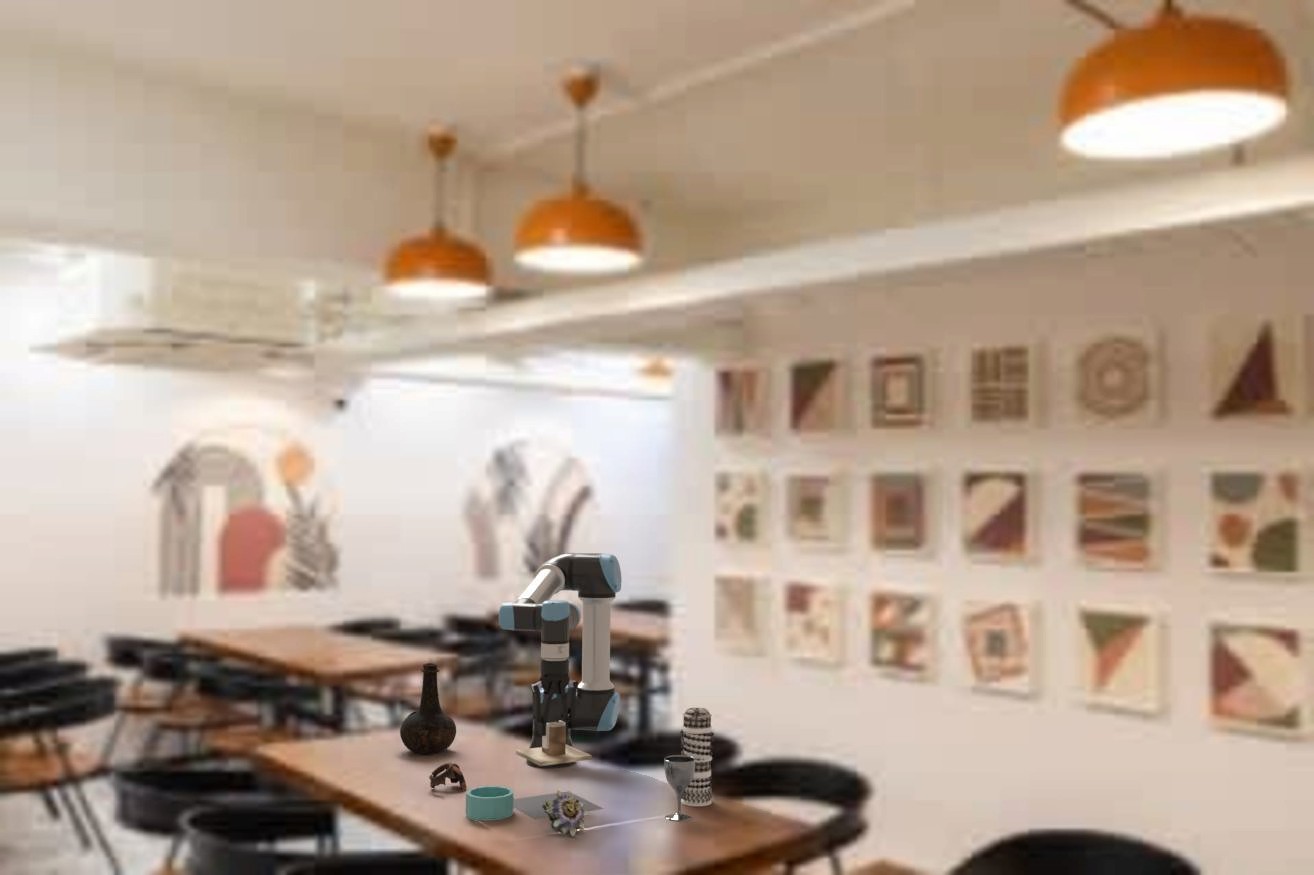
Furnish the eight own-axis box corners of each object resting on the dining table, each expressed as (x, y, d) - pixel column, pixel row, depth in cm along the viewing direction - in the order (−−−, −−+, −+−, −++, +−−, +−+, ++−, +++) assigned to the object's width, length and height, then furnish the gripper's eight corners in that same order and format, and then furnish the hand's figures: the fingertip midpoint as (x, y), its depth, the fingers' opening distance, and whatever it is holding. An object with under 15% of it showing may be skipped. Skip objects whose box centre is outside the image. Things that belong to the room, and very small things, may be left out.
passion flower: (571, 858, 280) (557, 825, 274) (540, 841, 287) (526, 809, 281) (601, 825, 286) (588, 792, 280) (570, 809, 293) (557, 776, 287)
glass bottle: (429, 743, 381) (431, 658, 382) (467, 751, 370) (469, 663, 372) (387, 752, 366) (389, 664, 368) (426, 760, 356) (428, 669, 357)
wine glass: (698, 815, 300) (698, 756, 300) (689, 823, 292) (689, 763, 293) (669, 811, 302) (670, 754, 303) (659, 819, 295) (660, 760, 296)
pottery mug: (465, 796, 317) (451, 771, 316) (436, 809, 319) (421, 785, 317) (474, 774, 329) (460, 750, 328) (446, 787, 330) (432, 763, 329)
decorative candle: (689, 808, 306) (690, 713, 307) (673, 800, 314) (674, 707, 315) (719, 804, 310) (720, 711, 311) (702, 796, 318) (703, 705, 320)
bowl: (501, 807, 305) (502, 784, 305) (520, 818, 295) (521, 794, 295) (459, 813, 298) (459, 789, 299) (477, 824, 288) (477, 800, 289)
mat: (568, 793, 320) (568, 791, 320) (603, 810, 303) (603, 808, 303) (502, 802, 309) (502, 800, 309) (534, 821, 292) (534, 819, 292)
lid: (565, 747, 317) (566, 716, 317) (591, 759, 304) (592, 727, 305) (516, 754, 309) (516, 722, 310) (540, 766, 297) (540, 732, 297)
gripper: (532, 663, 300) (530, 753, 299) (589, 658, 309) (588, 746, 308) (519, 659, 307) (518, 747, 306) (576, 654, 316) (575, 740, 315)
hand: (553, 746), depth 307 cm, fingers closed on lid, 4 cm apart
